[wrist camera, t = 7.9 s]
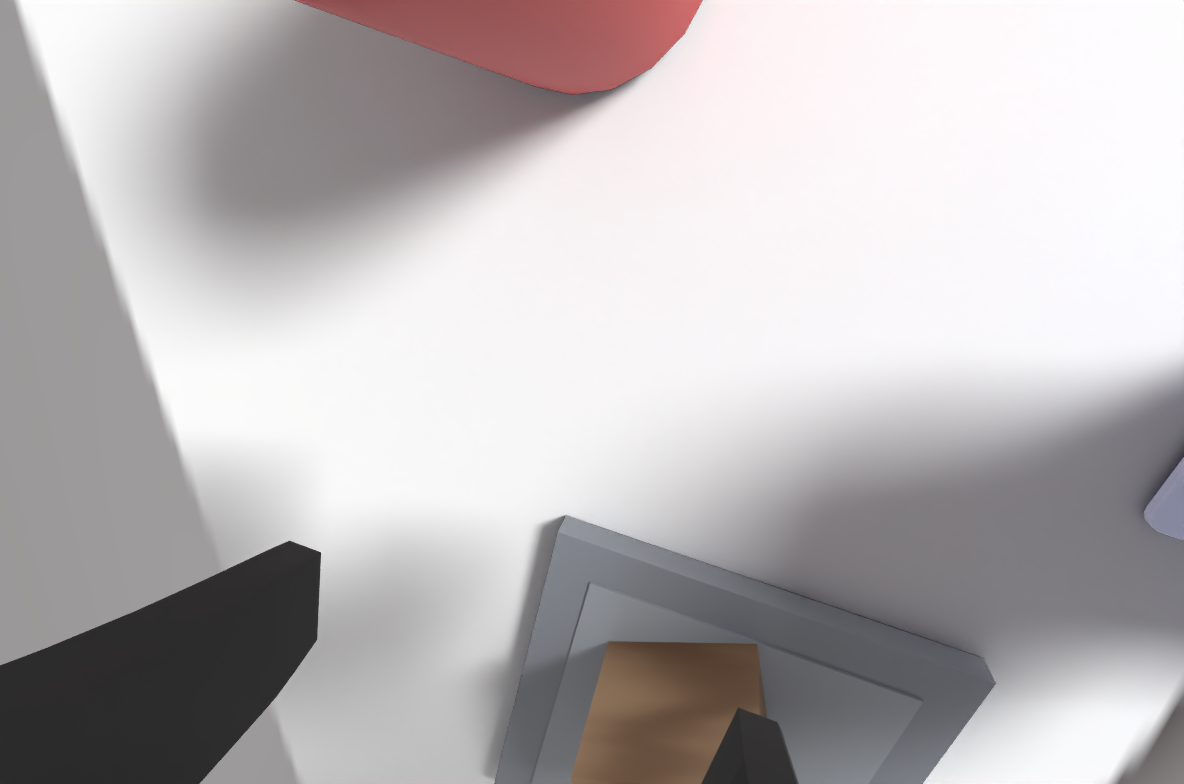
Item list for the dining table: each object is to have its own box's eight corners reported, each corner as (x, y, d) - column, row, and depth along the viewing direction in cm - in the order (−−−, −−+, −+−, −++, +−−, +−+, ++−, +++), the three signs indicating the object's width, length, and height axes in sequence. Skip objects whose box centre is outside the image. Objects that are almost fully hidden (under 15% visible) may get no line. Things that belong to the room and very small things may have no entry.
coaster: (983, 658, 19) (997, 686, 18) (816, 897, 24) (819, 928, 23) (565, 515, 20) (557, 533, 19) (501, 768, 26) (491, 793, 25)
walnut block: (757, 643, 19) (761, 794, 15) (772, 756, 21) (780, 924, 16) (608, 641, 20) (570, 777, 16) (633, 747, 22) (605, 898, 18)
